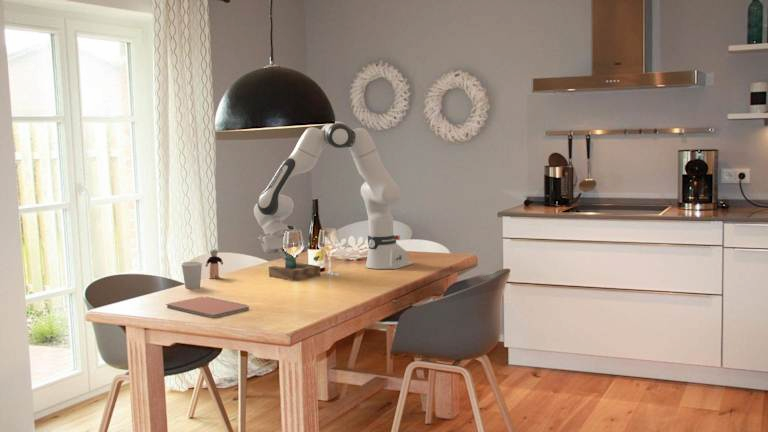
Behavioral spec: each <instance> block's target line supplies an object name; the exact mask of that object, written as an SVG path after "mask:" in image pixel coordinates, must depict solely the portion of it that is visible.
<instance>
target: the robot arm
mask: <svg viewBox="0 0 768 432" xmlns="http://www.w3.org/2000/svg"><path fill="white" fill-rule="evenodd" d="M334 121H335V124H329V125H325V124H323V125H322V126H320V127H319V128H317V127H313V126H311V127H308V128H306V129H305V130H304V132H303V133H302V134H301V136H300V138H299V139H298V141H297V143H296V145H295V147H294V148H293V151H292V152H291V153H290V155H289V156H288V158H286V159H284V161H283V162H282V163H281V164H280V166H279V168H278V169H277V171H276V172H275V174H274V176H273V177H272V179H271V180H270V182H269V183H268V185H267V187H266V188H265V189H264V190H263V191H262V192H261V193H260V194H259V196H258V198H257V203H256V204H255V205H254V207H253V213H254V214H253V215H254V217H255V219H256V221H257V224H258V225H259V227H261V229H262V230H263V233H264V234H260V235H259V236H258V241H259V242H260V245H261V247H262V250H263V252H264V253H265V254H266V255H271V254H277V255H278V256H280V257H281V258H282V260H284V261H285V259H287V258H288V256H287V254H285V251H284V249H283V236H284V233H285V231H291V230H295V231H297V230H296V229H297V227H295V226H294V225H289V224H286V223H283V221H285V220H286V219H287V218H289V217H290V216H291V215H292V214H293V213H294V211H295V202H294V200H293V198H292V197H290V196H287V195H284V194H281V193H282V192H283V189H285V187H286V185H287V183H288V181H289V180H290V179H291V178H292V177H294V176H296V175H299V174H303V173H308V172H310V171H312V170H313V168H314V167H315V166H316V164H317V162H318V160H319V158H320V155H321V153H322V152H323V150H324V149H325V148H326V147H327V146H330V147H333V148H335V149H344V148H345V149H346V148H348V150H349V152H350V154H351V156H352V159H353V161H354V163H355V166H356V169H357V171H358V174H359V175H360V176H361V177H362V178H363V179H364V182H363V183H362V185H361V186H360V195H361V197H362V199H363V200H364V201H363V202H364V205H365V210H366V213H367V221H368V235H367V245H368V247H367V256H366V262H365V267H366V268H368V269H375V270H385V269H386V270H388V269H390V270H392V269H393V270H397V269H401V268H404V267H406V266H410V265H413V264H414V263H413V262H414V261H412V260H408V254H407V253H408V252H407V250H405V249H404V248H403V247H401V246H400V244H398V243H397V241H399V240H400V239H401V236H400V235H397V234H396V235H395V234H394V217H393V215H392V214H391V211H390V206H392V205H394V204H397V203H398V201H400V199H401V196H402V194H401V193H402V191H401V188H400V186H399V185H398V184H397V183H395V181H394V180H393V178H392V177H391V175H390V174H389V172H388V171H387V169H386V168H385V166H384V164H383V162H382V160H381V157H380V155H379V152H378V149H377V146H376V145H375V143H374V140H373V138H372V136H371V135H370V133H369V132H368V130H367V129H366V128H363V127H357V128H354V129H352V128H350V127H349V126H348V125H346V124H345V123H344V122H342V121H339V120H334ZM302 240H303V247H304V246H305V240H304V238H303V237H302ZM298 257H299V253H298V254H297V255H296V259H297V258H298Z"/></svg>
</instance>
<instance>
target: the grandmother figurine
mask: <svg viewBox="0 0 768 432" xmlns="http://www.w3.org/2000/svg"><path fill="white" fill-rule="evenodd" d="M209 252H210V253H209V254H210V255H211V256H210V257H209V258H208V259H207V260H206V263H205V265H204V266H205V267H209V278H208V279H209V280H212V279H214V278H215V279H220V276H219V263H220V264H221V265H224V262H223V259H222V257H220V256H218V253H219V250H218V249H217V248H214V247H213V248H210V251H209Z"/></svg>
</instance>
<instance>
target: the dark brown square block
mask: <svg viewBox="0 0 768 432" xmlns="http://www.w3.org/2000/svg"><path fill="white" fill-rule="evenodd" d="M320 276H321V266H320V265H314V264H308V263H303V262H297V261H296V269H290V268H285V266H278V265H273V266H268V277H272V278H276V279H277V278H278V279H282V280H287V281H292V282H294V281H295V282H296V281H298V280H299V281H300V280H304V279H310V278H313V277H314V278H315V277H320Z"/></svg>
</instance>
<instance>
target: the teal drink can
mask: <svg viewBox="0 0 768 432" xmlns="http://www.w3.org/2000/svg"><path fill="white" fill-rule="evenodd" d="M286 252H287V251H286ZM286 252H284V254H287V256H288V258H287V259H285V260H284V267H285V268H290V269H296V262H297V258H296V257H295V258H294V257H293V256H292V255H290V254H288V253H286Z"/></svg>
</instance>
